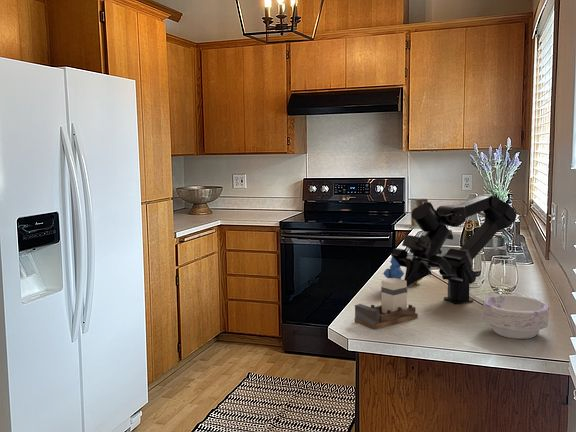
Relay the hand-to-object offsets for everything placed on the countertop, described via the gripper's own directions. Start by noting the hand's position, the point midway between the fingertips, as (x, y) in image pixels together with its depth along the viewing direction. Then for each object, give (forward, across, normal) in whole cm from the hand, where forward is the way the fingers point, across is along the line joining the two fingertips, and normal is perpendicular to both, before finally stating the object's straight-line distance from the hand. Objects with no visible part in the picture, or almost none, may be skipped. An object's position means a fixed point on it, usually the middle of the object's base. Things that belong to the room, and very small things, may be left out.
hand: (405, 285), depth 158 cm
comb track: (+12, 0, 0) cm, 12 cm away
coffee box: (-83, -110, +94) cm, 167 cm away
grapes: (-5, -20, +17) cm, 27 cm away
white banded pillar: (+8, 0, +2) cm, 8 cm away
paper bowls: (-1, +28, +13) cm, 31 cm away
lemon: (-14, -23, +26) cm, 38 cm away
